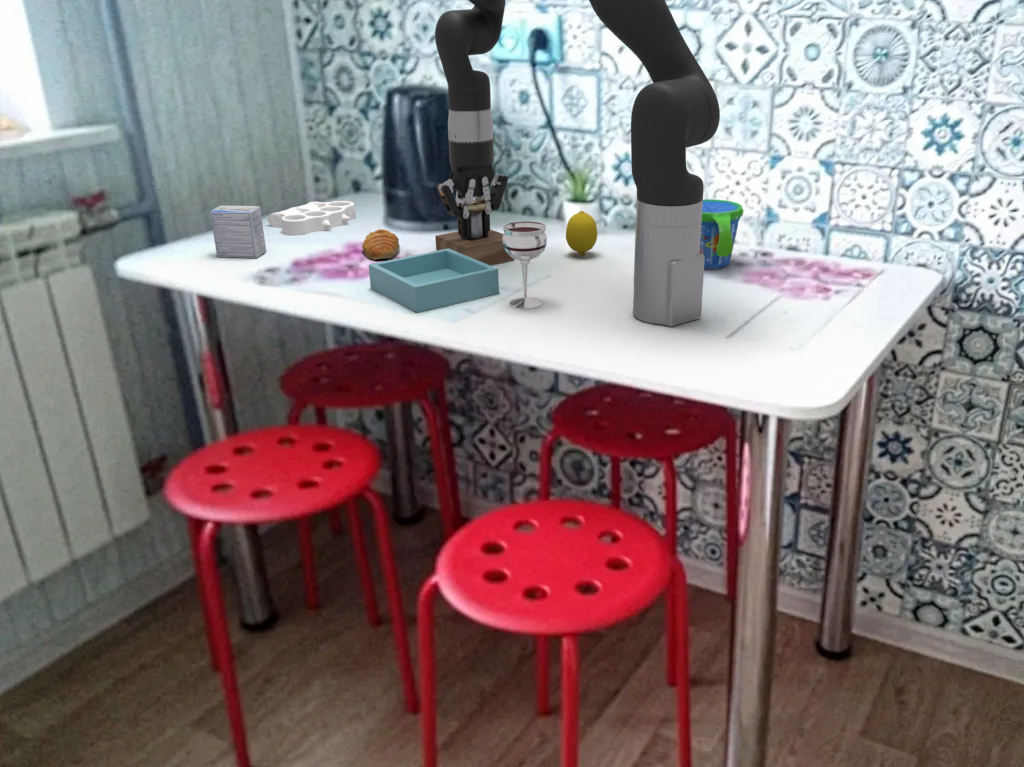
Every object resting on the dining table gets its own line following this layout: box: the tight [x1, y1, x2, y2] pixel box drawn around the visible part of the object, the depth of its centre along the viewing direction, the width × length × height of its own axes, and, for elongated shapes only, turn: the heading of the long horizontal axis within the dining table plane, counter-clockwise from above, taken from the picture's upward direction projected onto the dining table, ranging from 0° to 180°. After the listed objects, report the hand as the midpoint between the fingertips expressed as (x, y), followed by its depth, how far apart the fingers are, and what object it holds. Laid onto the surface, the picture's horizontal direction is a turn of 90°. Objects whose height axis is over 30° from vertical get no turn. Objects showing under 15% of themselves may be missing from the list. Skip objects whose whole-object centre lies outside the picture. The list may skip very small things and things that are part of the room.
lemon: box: [565, 210, 598, 256], centre depth 170 cm, size 6×6×8 cm
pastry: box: [361, 229, 401, 261], centre depth 175 cm, size 9×7×4 cm
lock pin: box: [461, 199, 486, 241], centre depth 169 cm, size 4×4×10 cm
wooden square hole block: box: [435, 228, 516, 266], centre depth 170 cm, size 10×10×4 cm
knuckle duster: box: [266, 200, 356, 237], centre depth 196 cm, size 3×18×15 cm
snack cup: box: [700, 198, 744, 270], centre depth 163 cm, size 16×10×10 cm
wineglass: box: [501, 220, 548, 309], centre depth 146 cm, size 7×7×12 cm
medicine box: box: [209, 205, 267, 259], centre depth 175 cm, size 8×4×9 cm, turn 80°
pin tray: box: [368, 248, 500, 314], centre depth 154 cm, size 15×15×4 cm
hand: (474, 236), depth 169 cm, fingers closed on lock pin, 3 cm apart
